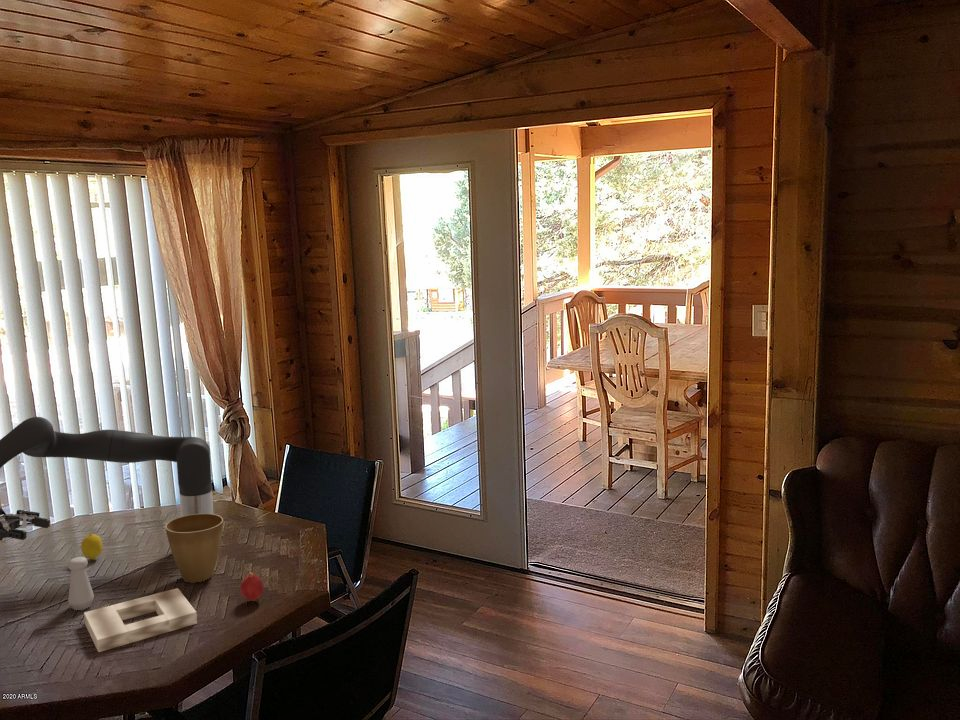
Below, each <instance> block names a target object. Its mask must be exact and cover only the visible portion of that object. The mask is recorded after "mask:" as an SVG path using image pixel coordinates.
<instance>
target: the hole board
mask: <svg viewBox="0 0 960 720" xmlns="http://www.w3.org/2000/svg"><path fill="white" fill-rule="evenodd" d="M154 612H156V614H157V615H156V616H152V617H149V618H145V619H142V620H138V621H135V622H132V623H127V624H125V623H124V622H123V621H126V620H129V619H132V618H136V617H140V616H144V615H147V614H151V613H154ZM83 614H84V615H83V617H84V625H85V628H86V629H87V631H88V633H89V635H90V637H91V640H92V642H93V644H94V646H95V648H96V650H97V652H98V653H101V652H104V651H108V650H111V649H115V648H118V647H121V646H125V645H129V644H131V643H135V642H139V641H142V640H145V639H149V638H152V637H156V636H160V635H163V634H166V633H169V632H173V631H176V630H180V629H182V628H186V627H190V626H192V625H197V624H198V614H197V610H196V609H195V608H194V607H193V606H192V604H191V603H190V602H189V601H188V599H187V598H186V597H185V596H184V594H183V592H182V591H181V590H180V589H179V588H178V587H177V588H173V589H170V590H164V591H162V592H161V591H160V592H157V593H154V594H150V595H145V596H142V597H138V598H135V599H130V600H126V601H123V602H119V603H115V604H112V605H108V606H103V607H99V608H96V609H92V610H89V611H88V610H87V611H84V612H83Z"/></svg>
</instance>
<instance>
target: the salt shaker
mask: <svg viewBox="0 0 960 720" xmlns="http://www.w3.org/2000/svg"><path fill="white" fill-rule="evenodd" d="M88 561H89V560H88V558H86V557H85V556H78V557H74V558H71V559H70V560H69V561H68V564H67V565H68V566H67V567H68V569H69V570H70V571H71V573H70V580H69V590H68V599H67V601H68V604H69V606H70V608H71V609H72V610H73V609H74V610H73V611H75V610H76V612H78V611H77V610H81V611H84V610H83V609H86V608H87V609H89V608H91V607H90V606H92V604H93V601H94V599H95V598H94V597H95V594H94V591H93V588H92V586H91V582H90V579H89V577H88V574H87V573H88V572H87V570H86V568H87V566H88V565H89V563H88ZM88 607H89V608H88ZM87 609H86V610H87Z"/></svg>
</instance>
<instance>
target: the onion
mask: <svg viewBox="0 0 960 720" xmlns="http://www.w3.org/2000/svg"><path fill="white" fill-rule="evenodd" d="M264 587H265V586H264V583H263V581H262V578H261V577H259V576H258V575H257V574H254V573H253V572H249V574H248V575H247V576H246V577H245V578H244V579H243V580H242V581H241V584H240V588H239V589H240V590H239V591H240V594H241V596H242V597H243V598H244V599H245V600H247V601H249V602H250V601H254V602H255V601H257V600H258V599H260V597H261V596H262V594H263V592H264V591H265V588H264Z"/></svg>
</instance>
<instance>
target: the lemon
mask: <svg viewBox="0 0 960 720" xmlns="http://www.w3.org/2000/svg"><path fill="white" fill-rule="evenodd" d="M103 547H104V546H103V541H102V539H101V537H100V536H99V535H97V534H93V533H89V534H88V535H86V536H85V537H84V538H83V539H82V541H81V546H80V549H81V553H82V555H83V557H85V558H86V559H89V560H92V561H94V560H95V559H96V558H97V557H99V556H100V555H101V554H102V551H103Z"/></svg>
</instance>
